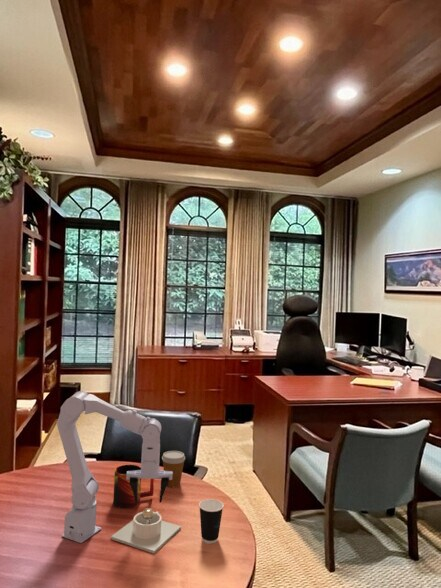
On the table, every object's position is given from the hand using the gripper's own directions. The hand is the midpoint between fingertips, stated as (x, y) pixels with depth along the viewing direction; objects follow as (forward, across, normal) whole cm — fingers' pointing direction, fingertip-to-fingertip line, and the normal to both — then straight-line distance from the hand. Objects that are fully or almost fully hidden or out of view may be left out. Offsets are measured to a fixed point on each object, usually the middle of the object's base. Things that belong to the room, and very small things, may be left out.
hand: (148, 501), depth 140 cm
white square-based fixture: (+10, 0, 0) cm, 10 cm away
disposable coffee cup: (+11, -8, -37) cm, 39 cm away
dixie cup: (+11, -20, +4) cm, 23 cm away
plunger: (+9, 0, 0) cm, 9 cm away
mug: (+11, +7, -23) cm, 26 cm away
